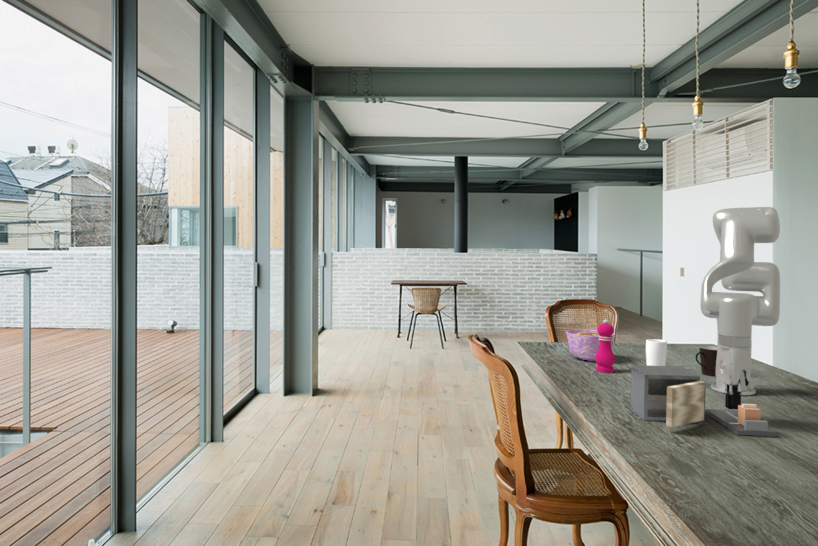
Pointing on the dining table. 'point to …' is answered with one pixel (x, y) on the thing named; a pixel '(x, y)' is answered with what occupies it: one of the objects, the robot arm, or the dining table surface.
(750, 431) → the panel
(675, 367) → the cabinet
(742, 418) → the knob
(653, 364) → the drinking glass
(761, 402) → the dining table surface
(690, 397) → the door
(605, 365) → the pepper mill
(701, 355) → the coffee mug
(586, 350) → the bowl of food
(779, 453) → the dining table surface
